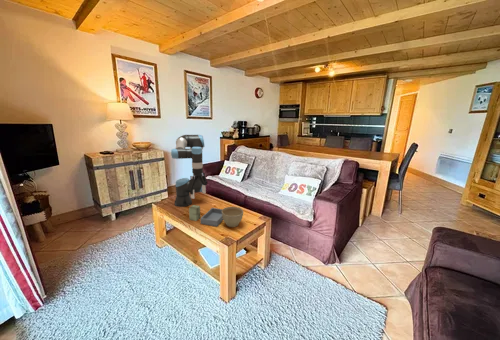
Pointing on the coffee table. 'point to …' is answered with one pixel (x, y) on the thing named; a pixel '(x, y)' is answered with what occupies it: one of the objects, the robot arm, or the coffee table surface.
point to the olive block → (194, 212)
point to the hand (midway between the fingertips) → (198, 195)
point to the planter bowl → (232, 216)
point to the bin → (212, 217)
